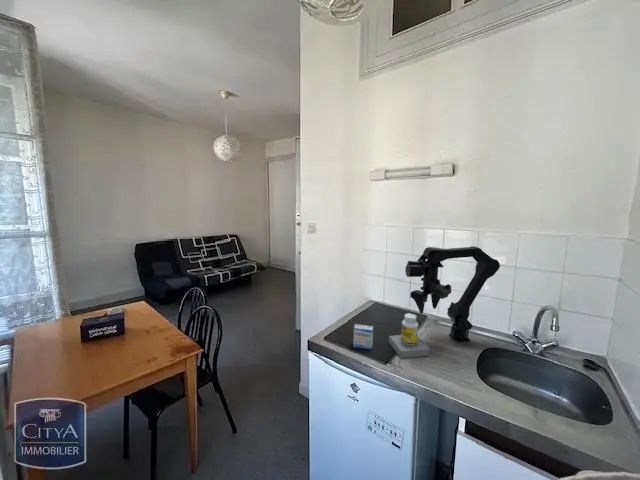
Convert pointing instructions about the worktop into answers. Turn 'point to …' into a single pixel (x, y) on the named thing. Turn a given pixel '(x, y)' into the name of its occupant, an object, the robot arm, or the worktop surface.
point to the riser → (408, 347)
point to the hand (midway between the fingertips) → (428, 310)
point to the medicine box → (363, 336)
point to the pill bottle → (409, 329)
